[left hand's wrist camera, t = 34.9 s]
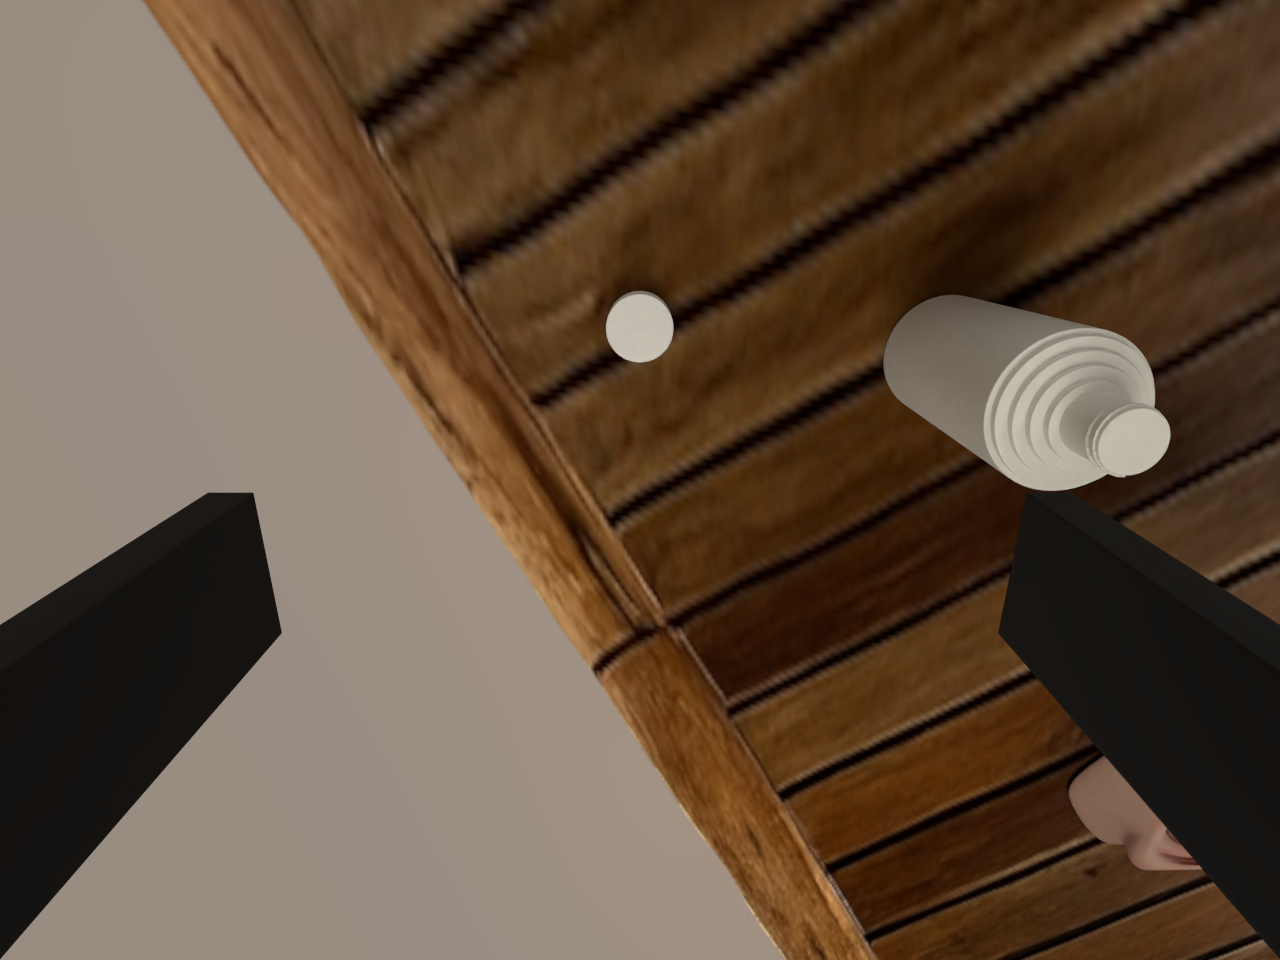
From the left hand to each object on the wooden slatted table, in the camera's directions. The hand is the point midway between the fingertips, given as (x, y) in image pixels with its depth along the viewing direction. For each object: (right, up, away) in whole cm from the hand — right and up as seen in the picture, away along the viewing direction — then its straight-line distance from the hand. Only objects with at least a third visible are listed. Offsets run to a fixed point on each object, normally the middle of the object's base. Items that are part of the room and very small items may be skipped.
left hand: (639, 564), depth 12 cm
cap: (0, +10, +27) cm, 29 cm away
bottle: (+18, +9, +29) cm, 35 cm away
